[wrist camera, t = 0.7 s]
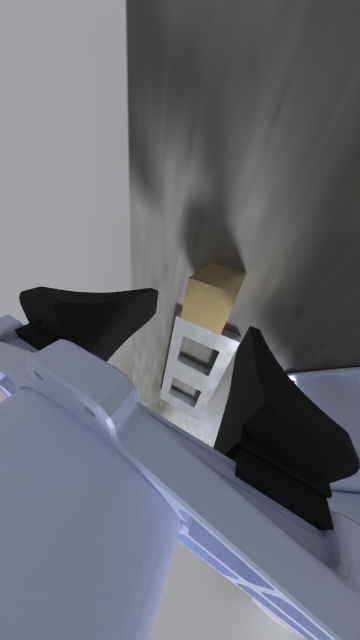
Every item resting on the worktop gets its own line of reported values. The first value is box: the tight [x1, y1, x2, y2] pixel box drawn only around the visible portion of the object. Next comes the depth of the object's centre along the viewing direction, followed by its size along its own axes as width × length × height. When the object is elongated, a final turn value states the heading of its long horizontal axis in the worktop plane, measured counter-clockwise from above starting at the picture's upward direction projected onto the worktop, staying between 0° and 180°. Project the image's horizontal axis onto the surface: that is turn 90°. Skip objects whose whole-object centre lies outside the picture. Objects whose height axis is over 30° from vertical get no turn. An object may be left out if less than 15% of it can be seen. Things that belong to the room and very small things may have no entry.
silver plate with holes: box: [160, 312, 241, 420], centre depth 28 cm, size 22×9×2 cm, turn 169°
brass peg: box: [180, 263, 246, 335], centre depth 16 cm, size 4×4×7 cm
